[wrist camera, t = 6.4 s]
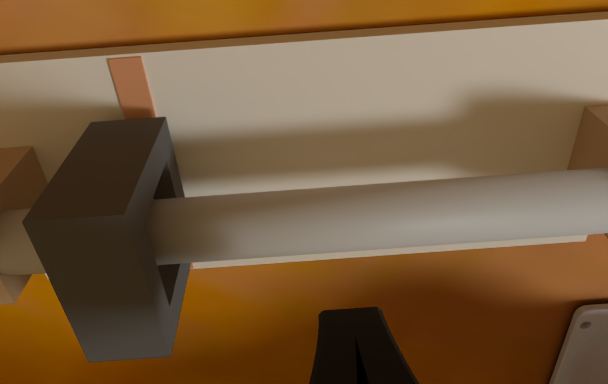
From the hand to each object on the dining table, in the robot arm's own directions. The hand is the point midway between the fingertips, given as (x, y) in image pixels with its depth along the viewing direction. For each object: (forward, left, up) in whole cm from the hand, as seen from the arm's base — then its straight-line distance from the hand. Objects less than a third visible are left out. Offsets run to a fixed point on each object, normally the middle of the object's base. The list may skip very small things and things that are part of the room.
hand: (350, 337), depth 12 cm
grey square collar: (0, +6, -7) cm, 9 cm away
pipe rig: (0, +1, -9) cm, 9 cm away
